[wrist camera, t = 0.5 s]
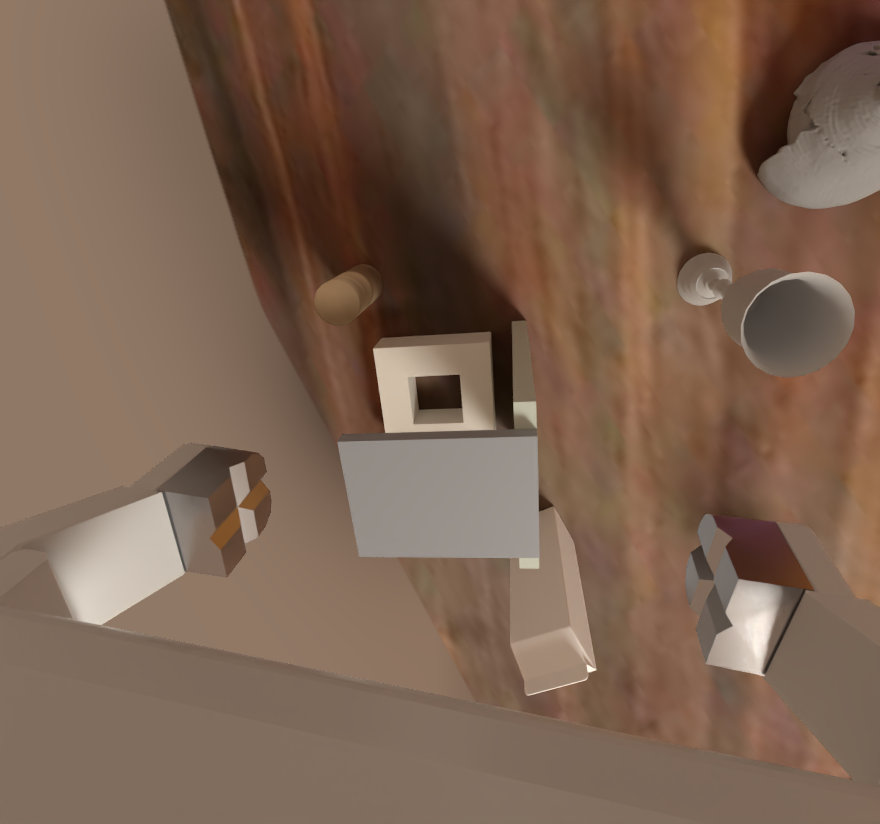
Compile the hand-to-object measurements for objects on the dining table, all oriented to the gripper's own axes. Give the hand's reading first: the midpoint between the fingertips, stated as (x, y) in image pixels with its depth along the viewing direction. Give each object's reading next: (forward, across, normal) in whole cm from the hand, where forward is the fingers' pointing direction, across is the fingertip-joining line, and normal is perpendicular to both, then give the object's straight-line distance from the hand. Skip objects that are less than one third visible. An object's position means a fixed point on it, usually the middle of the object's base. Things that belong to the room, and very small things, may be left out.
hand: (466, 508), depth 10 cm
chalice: (+48, -16, +6) cm, 51 cm away
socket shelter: (+45, +7, +19) cm, 49 cm away
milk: (+45, -4, +37) cm, 58 cm away
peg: (+45, +18, +8) cm, 49 cm away
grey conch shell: (+49, -24, -7) cm, 55 cm away
